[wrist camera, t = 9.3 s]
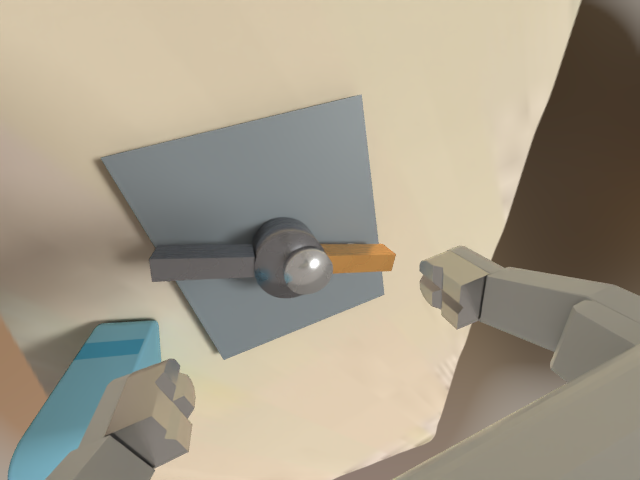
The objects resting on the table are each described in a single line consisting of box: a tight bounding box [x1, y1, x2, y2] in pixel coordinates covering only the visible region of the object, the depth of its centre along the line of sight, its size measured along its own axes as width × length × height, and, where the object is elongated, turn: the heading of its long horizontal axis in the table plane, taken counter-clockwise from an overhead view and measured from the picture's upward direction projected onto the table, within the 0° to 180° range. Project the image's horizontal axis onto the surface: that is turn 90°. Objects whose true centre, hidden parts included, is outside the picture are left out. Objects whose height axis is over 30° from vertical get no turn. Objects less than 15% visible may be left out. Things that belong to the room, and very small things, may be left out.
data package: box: [8, 320, 161, 480], centre depth 21 cm, size 12×4×12 cm, turn 170°
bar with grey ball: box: [149, 217, 396, 298], centre depth 22 cm, size 20×6×5 cm, turn 82°
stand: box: [101, 95, 384, 360], centre depth 25 cm, size 22×21×2 cm
